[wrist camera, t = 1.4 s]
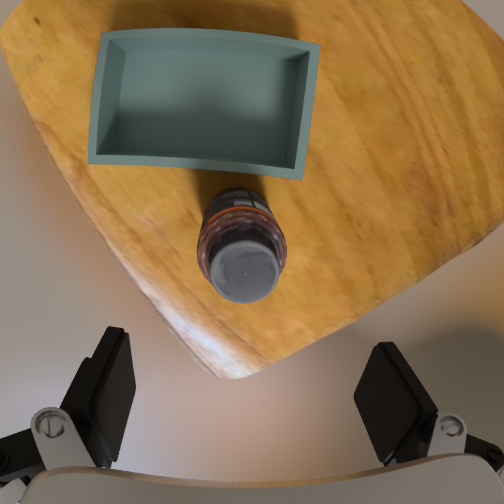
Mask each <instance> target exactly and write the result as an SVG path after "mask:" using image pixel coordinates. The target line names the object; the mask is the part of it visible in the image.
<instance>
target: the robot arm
mask: <svg viewBox="0 0 504 504" xmlns="http://www.w3.org/2000/svg"><path fill="white" fill-rule="evenodd" d="M135 391H136V383H135V376H134V370H133V363H132V356H131V348H130V339H129V334H128V333H125V332H124V329H123V328H118V327H111V326H108V327H107V329H106V331H105V333H104V335H103V336H102V338H101V340H100V342H99V344H98V346H97V348H96V350H95V352H94V354H93V356H92V358H88V357H86V358H85V359H84V360H83V362H82V363H81V365H80V367H79V369H78V371H77V373H76V375H75V377H74V379H73V381H72V383H71V385H70V387H69V389H68V391H67V393H66V395H65V397H64V399H63V401H62V403H61V405H60V408H56V407H47V408H43V409H41V410H39V411H38V412H37V413H35V415H34V416H33V417H32V419H31V428H29V429H27V430H24V431H21V432H18V433H15V434H12V435H10V436H7V437H4V438H1V439H0V504H15V503H16V502H19V504H504V454H503V452H502V450H501V449H500V448H499V447H498V446H496V445H494V444H491V443H488V442H486V441H484V440H481V439H478V438H476V437H474V436H471V435H469V434H467V427H466V424H465V422H464V421H463V420H462V419H461V418H460V417H459V416H457V415H455V414H452V413H444V414H441V415H440V416H438V414H437V412H438V409H437V407H436V405H435V404H434V402H433V401H432V399H431V398H430V396H429V394H428V393H427V391H426V390H425V388H424V387H423V385H422V384H421V382H420V381H419V379H418V378H417V376H416V375H415V373H414V372H413V370H412V369H411V367H410V366H409V364H408V363H407V361H406V360H405V358H404V357H403V355H402V354H401V352H400V351H399V350H398V348H397V347H396V345H395V344H394V343H393V342H380V343H378V344H377V346H375V347H374V348H373V350H372V352H371V355H370V358H369V360H368V362H367V365H366V367H365V369H364V372H363V374H362V377H361V379H360V381H359V383H358V385H357V388H356V390H355V392H354V401H355V403H356V406H357V408H358V411H359V413H360V415H361V418H362V420H363V423H364V425H365V427H366V430H367V432H368V435H369V437H370V440H371V442H372V444H373V447H374V449H375V452H376V454H377V457H378V459H379V461H380V462H383V464H384V467H381V468H377V469H372V470H367V471H362V472H356V473H349V474H343V475H336V476H328V477H320V478H311V479H300V480H287V481H261V482H233V481H208V480H193V479H182V478H173V477H164V476H155V475H148V474H141V473H135V472H129V471H122V470H115V469H109V468H111V464H112V461H113V462H116V461H117V459H118V455H119V451H120V446H121V443H122V439H123V435H124V431H125V427H126V424H127V420H128V416H129V413H130V409H131V406H132V402H133V399H134V395H135ZM102 467H106V468H102Z"/></svg>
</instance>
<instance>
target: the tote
mask: <svg viewBox="0 0 504 504" xmlns="http://www.w3.org/2000/svg"><path fill="white" fill-rule="evenodd" d="M319 53H320V44H315V43H311V42H306V41H301V40H296V39H290V38H285V37H279V36H272V35H266V34H258V33H250V32H241V31H231V30H218V29H199V28H149V29H130V30H118V31H108V32H102V37H101V42H100V47H99V53H98V58H97V65H96V71H95V78H94V86H93V94H92V103H91V113H90V126H89V141H88V164H112V165H142V166H162V167H178V168H193V169H205V170H217V171H228V172H238V173H248V174H257V175H266V176H274V177H282V178H290V179H297V180H302V179H303V173H304V166H305V160H306V153H307V146H308V139H309V132H310V125H311V117H312V110H313V102H314V95H315V87H316V79H317V70H318V62H319Z"/></svg>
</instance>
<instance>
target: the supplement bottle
mask: <svg viewBox="0 0 504 504" xmlns="http://www.w3.org/2000/svg"><path fill="white" fill-rule="evenodd" d="M286 258H287V246H286V241H285V238H284V235H283V233H282V231H281V229H280V227H279V225H278V223H277V222H276V220H275V218H274V216H273V214H272V212H271V210H270V208H269V207H268V205H267V204H266V202H265V201H264V199H263V198H262V197H261V196H259V195H258V194H257V193H255V192H253V191H252V190H248V189H245V188H231V189H227V190H224V191H222V192H220V193H219V194H218V195H216V196H215V197H214V198H213V199H212V200H211V202H210V203H209V205H208V206H207V208H206V211H205V214H204V218H203V222H202V226H201V231H200V234H199V239H198V244H197V260H198V264H199V267H200V270H201V272H202V273H203V275H204V277H205V278H206V279H207V280H208V281H209V282H210V283H211V284H212V285H213V286H214V288H215V289H216V291H217V292H218V293H219V294H220V295H221V296H222V297H224V298H225V299H228V300H229V301H232V302H236V303H252V302H256V301H258V300H261V299H263V298H264V297H266V296H267V295H268V294H269V293H270V292H271V291H272V290H273V289H274V287H275V286H276V284H277V282H278V279H279V276H280V274H281V273H282V271H283V268H284V266H285V263H286Z"/></svg>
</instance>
